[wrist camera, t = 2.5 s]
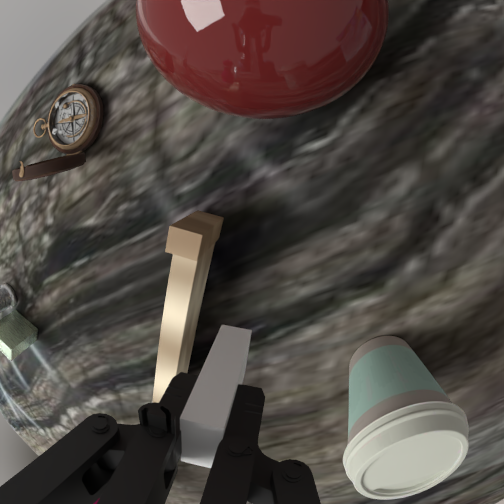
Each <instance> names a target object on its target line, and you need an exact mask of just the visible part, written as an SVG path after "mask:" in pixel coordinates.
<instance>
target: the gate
mask: <svg viewBox="0 0 504 504" xmlns="http://www.w3.org/2000/svg"><path fill="white" fill-rule="evenodd" d="M223 219H224V217H220V216H216V215H213V214H209V213H205V212H202V211H196V212H194V213H192V214H190V215H188V216H187V217H185V218H183V219H181V220H179V221H177V222H176V223H174V224H172V225H170V227H169V233H168V238H167V244H166V250H165V252H168V253H171V254H173V258H172V263H171V269H170V275H169V281H168V287H167V293H166V299H165V306H164V313H163V320H162V327H161V334H160V341H159V349H158V357H157V365H156V374H155V383H154V393H153V403H154V402H157V403H159V402H160V400H161V398H162V396H163V394H164V393H165V391H166V389H167V387H168V385H169V383H170V382H171V380H172V378H173V377H174V376H176V375H177V374H179V373H180V372H183V373H187V372H188V367H189V362H190V357H191V352H192V347H193V342H194V337H195V332H196V327H197V322H198V318H199V313H200V308H201V304H202V299H203V294H204V290H205V285H206V281H207V276H208V272H209V267H210V263H211V258H212V254H213V249H214V245H215V242H216V241H217V240H218V239H219V236H220V231H221V227H222V223H223Z"/></svg>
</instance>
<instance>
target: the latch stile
mask: <svg viewBox="0 0 504 504" xmlns="http://www.w3.org/2000/svg"><path fill="white" fill-rule="evenodd" d="M16 303H17V299H16V295H15V292H14V290H13V289H12V287H11V286H10V285H8V284H6V283H5V284H3V285H1V286H0V312H2V311H4V310H5V309H7V308H8V309H12V308H13V307H15V306H16ZM37 335H38V329H37V328H36V327H35V326H34V325H33V324H31V323H30V322H29V321H28V320H27V319H26V318H25V317H24V316H22V315H21V314H20V313H19V312H18V311H17V310H15V311H13V312H11V313H10V314H8V315H7V316H5V317H4V318H2V319H1V320H0V351H1V352H2V353H3V354H4V355H6V356H7V357H8V358H9V359H10V360H11V361H12V360H13V359H14V358H15V357H17V356H18V355H19V354H20V353H22V352H23V351H24V350H25V349H26V348H28V347H29V346H30V345H31V344H33V343H34V342H35V341H36V340H37Z"/></svg>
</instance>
